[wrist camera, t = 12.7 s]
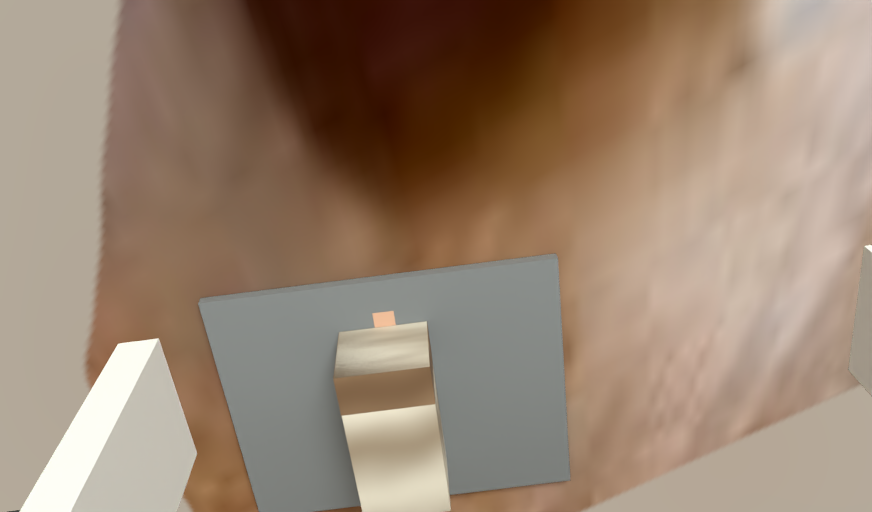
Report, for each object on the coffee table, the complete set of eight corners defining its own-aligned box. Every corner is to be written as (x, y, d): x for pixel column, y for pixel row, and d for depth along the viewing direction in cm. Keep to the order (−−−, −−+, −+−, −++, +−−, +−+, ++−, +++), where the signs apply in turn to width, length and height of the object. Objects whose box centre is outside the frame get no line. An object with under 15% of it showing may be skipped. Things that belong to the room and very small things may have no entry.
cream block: (446, 457, 49) (451, 510, 45) (366, 467, 49) (364, 521, 45) (427, 321, 45) (429, 366, 41) (338, 332, 45) (333, 378, 41)
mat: (555, 253, 44) (558, 258, 43) (568, 473, 51) (570, 480, 51) (200, 298, 44) (197, 303, 44) (262, 511, 51) (260, 518, 51)
